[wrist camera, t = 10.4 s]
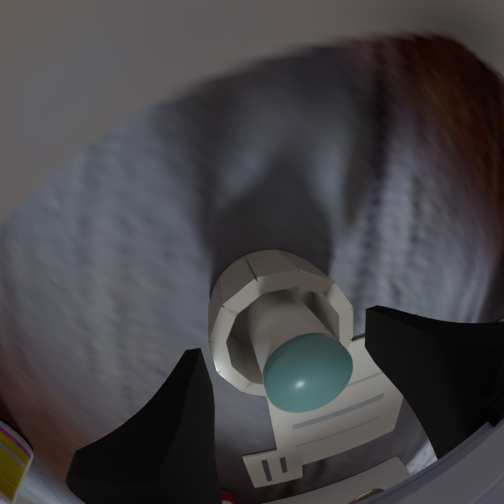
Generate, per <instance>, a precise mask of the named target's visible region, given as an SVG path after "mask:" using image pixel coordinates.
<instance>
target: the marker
mask: <svg viewBox="0 0 504 504" xmlns="http://www.w3.org/2000/svg"><path fill="white" fill-rule="evenodd" d="M246 325H247V328H248V332H249V335H250V338H251V341H252V345H253V348H254V351H255V354H256V358H257V361H258V364H259V367H260V370H261V374H262V380H263V385H264V388H265V391H266V394H267V397H268V399H269V401H270V402H271V403H272V404H273V405H274V406H275V407H277V408H278V409H280V410H283V411H286V412H292V413H302V412H308V411H312V410H315V409H318V408H320V407H323V406H324V405H326V404H328V403H330V402H331V401H332V400H334V399H335V398H336V397H337V396H338V395H339V394H340V393H341V392H342V391H343V390H344V389H345V387H346V386H347V384H348V383H349V380H350V378H351V375H352V372H353V360H352V357H351V355H350V353H349V352H348V351H347V349H346V348H345V347H344V346H343V345H342V344H341V343H340V341H339V340H337V339H336V338H335V337H333V336H332V334H331V333H330V332H329V331H328V330H327V329H326V328H325V326H324V325H323V324H322V323H321V322H320V321H319V320H318V318H317V317H316V316H315V315H314V314H313V313H312V311H311V310H310V309H309V308H308V307H307V306H306V305H305V303H304V302H303V301H302V300H301V299H300V298H299V297H298V296H297V295H296V294H295V293H293V292H291V291H288V290H285V289H282V290H277V291H273V292H268V293H263V294H262V295H261V296H259V297H258V298H257V299H256V300H254V301H253V302H252V303H251V304H250V306H249V308H248V311H247V314H246Z"/></svg>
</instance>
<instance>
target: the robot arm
mask: <svg viewBox="0 0 504 504" xmlns="http://www.w3.org/2000/svg"><path fill="white" fill-rule="evenodd" d="M364 347H365V348H366V350H367V352H368V353H369V355H370V357H371V358H372V360H373V361H374V363H375V364H376V365H377V366H378V367H379V368H380V370H381V371H382V372H383V373H384V374H385V375H386V377H387V378H388V379H389V380H390V381H391V382H392V383H393V384H394V386H395V387H396V388H397V389H398V390H399V391H400V392H401V394H402V395H403V396H404V398H405V399H406V400H407V402H408V403H409V405H410V406H411V408H412V410H413V411H414V413H415V414H416V416H417V418H418V419H419V421H420V423H421V425H422V426H423V428H424V430H425V432H426V434H427V436H428V438H429V440H430V442H431V445H432V447H433V449H434V452H435V454H436V457H437V459H438V460H437V461H436V462H434V463H433V464H431V465H429V466H428V467H426V468H425V469H423V470H421V471H420V472H418V473H416V474H415V475H413V476H411V477H409V478H408V479H406V480H404V481H402V482H400V483H398V484H396V485H394V486H393V487H391V488H389V489H386V490H384V491H382V492H380V493H378V494H376V495H374V496H371V497H369V498H367V499H365V500H362V501H360V502H357V503H355V504H504V318H503V319H501V320H500V321H499V322H492V323H456V322H447V321H441V320H435V319H431V318H426V317H422V316H418V315H414V314H410V313H406V312H403V311H399V310H396V309H392V308H388V307H384V306H378V305H377V306H374V307H371V308H367V309H366V325H365V346H364ZM214 418H215V404H214V395H213V387H212V383H211V380H210V377H209V374H208V371H207V367H206V364H205V361H204V358H203V354H202V351H201V348H197V349H191V350H186V351H185V352H184V354H183V355H182V357H181V358H180V360H179V362H178V363H177V365H176V366H175V368H174V369H173V371H172V372H171V374H170V375H169V377H168V378H167V380H166V381H165V382H164V384H163V385H162V386H161V388H160V389H159V390H158V391H157V393H156V394H155V395H154V396H153V397H152V398H151V400H150V401H149V402H148V403H147V404H146V405H145V406H144V407H143V408H142V409H141V410H140V411H139V412H137V413H136V414H135V415H134V416H133V417H131V418H130V419H129V420H128V421H126V422H125V423H124V424H123V425H121V426H120V427H119V428H117V429H116V430H114V431H113V432H111V433H110V434H108V435H106V436H105V437H103V438H101V439H99V440H98V441H96V442H94V443H92V444H89V445H87V446H85V447H83V448H81V449H79V450H76V452H75V454H74V457H73V459H72V462H71V465H70V468H69V471H68V474H67V477H66V484H67V486H68V488H69V489H70V491H71V492H72V493H74V494H75V495H76V496H77V497H78V498H79V499H81V500H82V501H83V502H84V503H86V504H222V499H221V494H220V488H219V482H218V476H217V469H216V461H215V451H214Z"/></svg>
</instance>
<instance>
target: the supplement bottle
mask: <svg viewBox="0 0 504 504" xmlns="http://www.w3.org/2000/svg"><path fill="white" fill-rule="evenodd" d="M33 456H34V455H33V451H32V449H31V447H30V446H29V444H28V443H27V442H26V441H25V440H24V439H23V438H22V437H21V436H20V435H19V434H18V433H17V432H16V431H15V430H13V429H12V428H11V427H10V426H8V425H7V424H5V423H4V422H2V421H0V504H15V501H16V498H17V496H18V493H19V490H20V488H21V485H22V483H23V480H24V478H25V475H26V473H27V471H28V468H29V466H30V464H31V462H32V459H33Z"/></svg>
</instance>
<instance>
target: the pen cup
mask: <svg viewBox="0 0 504 504" xmlns="http://www.w3.org/2000/svg"><path fill="white" fill-rule="evenodd" d="M282 289H285V290H288V291H291V292H293V293H295V294H296V295H297V296H298V297H299V298H300V299H301V300H302V301H303V302H304V303H305V305H306V306H307V307H308V308H309V309H310V310H311V311H312V313H313V314H314V315H315V316H316V317H317V318H318V320H319V321H320V322H321V323H322V324H323V325H324V326H325V328H326V329H327V330H328V331H329V332H330V333H331V334H332V336H333V337H335V338H336V339H337V340H339V341H340V343H341V344H342V345H343V346H344V347H345V348H346V349H348V347H349V345H350V344H351V342H352V340H351V339H352V338H353V308H352V305H351V304H350V303H349V301H348V300H347V298H346V297H345V295H344V294H343V292H342V291H341V290H340V288H339V287H338V285H337V284H336V283H335V282H334V281H333V280H332V279H331V278H329V277H328V276H327V275H325V274H324V273H323V272H322V271H320V270H319V269H318V268H316V267H315V266H314V265H313V264H311V263H310V262H309V261H307V260H306V259H303V258H300V257H298V256H297V255H294V254H292V253H290V252H286V251H283V250H275V249H267V250H259V251H255V252H252V253H249V254H247V255H244V256H242V257H241V258H239V259H237V260H236V261H234V262H233V263H232V264H230V265H229V266H228V267H227V268H226V269H225V270H224V271H223V273H222V274H221V275H220V277H219V278H218V280H217V282H216V284H215V286H214V288H213V291H212V295H211V300H210V303H209V308H208V337H209V346H210V349H211V353H212V356H213V360H214V363H215V367H216V370H217V372H218V374H220V375H221V376H222V377H223V378H225V379H226V380H227V381H228V382H230V383H231V384H232V385H233V386H235V387H236V388H237V389H239V390H240V391H241V392H242V391H243V393H249V394H254V395H261V396H267V394H266V391H265V388H264V385H263V380H262V374H261V370H260V367H259V364H258V361H257V358H256V354H255V351H254V348H253V345H252V341H251V338H250V335H249V332H248V328H247V325H246V314H247V311H248V308H249V306H250V304H251V303H252V302H253V301H254V300H256V299H257V298H258V297H259V296H261V295H262V294H263V293H268V292H273V291H277V290H282Z"/></svg>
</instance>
